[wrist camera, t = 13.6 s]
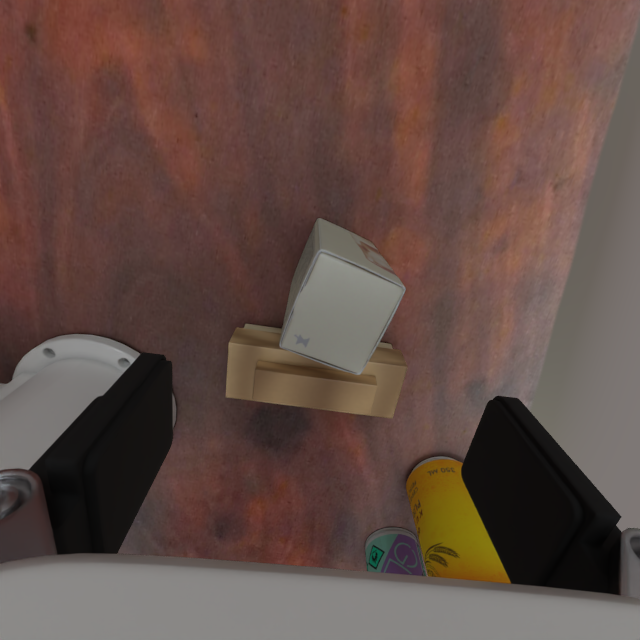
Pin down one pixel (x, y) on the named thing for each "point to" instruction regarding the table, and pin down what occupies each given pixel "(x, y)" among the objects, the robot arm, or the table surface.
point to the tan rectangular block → (310, 376)
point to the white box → (339, 299)
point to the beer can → (450, 524)
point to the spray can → (394, 552)
